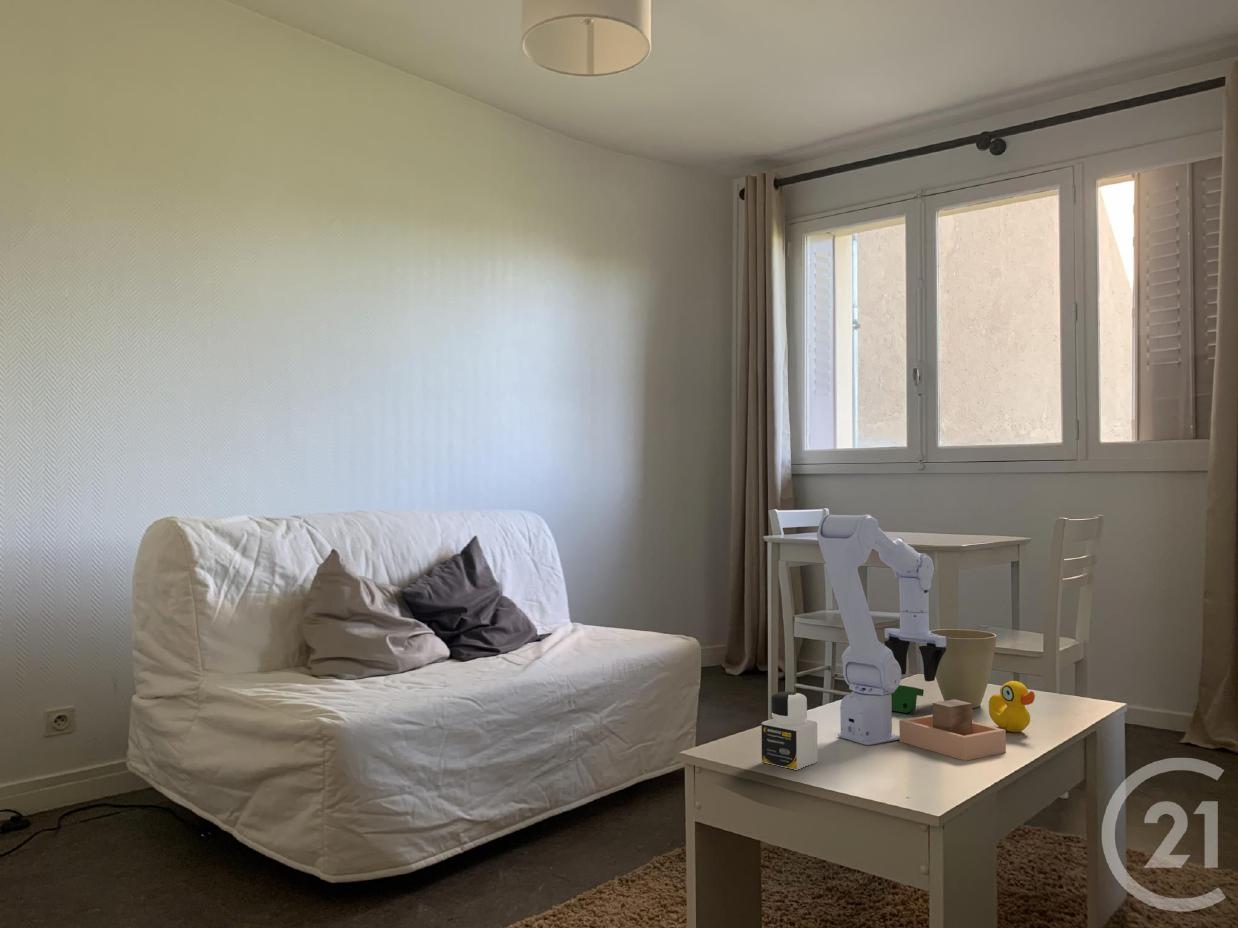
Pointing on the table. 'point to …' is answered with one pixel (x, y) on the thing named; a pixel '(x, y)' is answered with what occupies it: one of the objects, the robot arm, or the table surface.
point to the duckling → (1011, 706)
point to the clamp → (905, 698)
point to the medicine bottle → (789, 733)
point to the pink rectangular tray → (953, 739)
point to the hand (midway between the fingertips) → (915, 677)
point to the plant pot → (965, 664)
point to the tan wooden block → (953, 716)
